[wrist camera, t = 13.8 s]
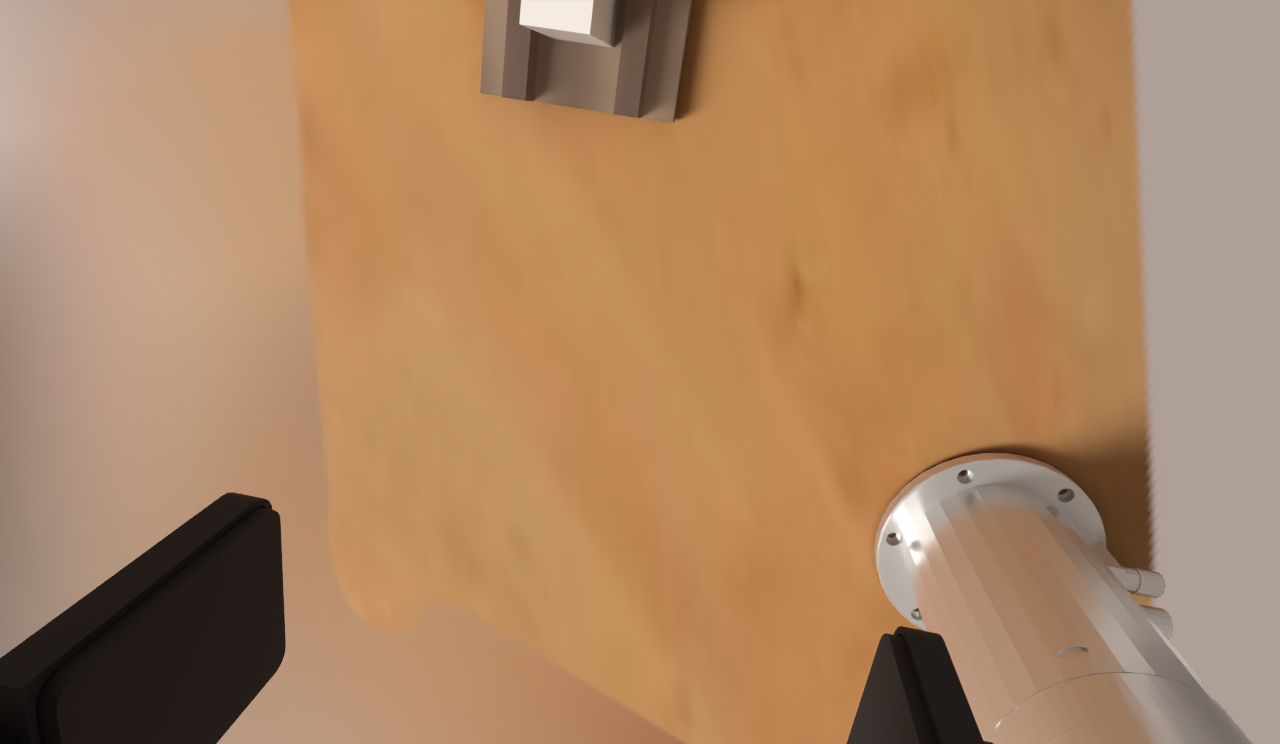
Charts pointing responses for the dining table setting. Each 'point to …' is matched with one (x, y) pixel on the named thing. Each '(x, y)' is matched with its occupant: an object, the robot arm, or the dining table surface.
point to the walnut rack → (591, 61)
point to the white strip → (572, 19)
